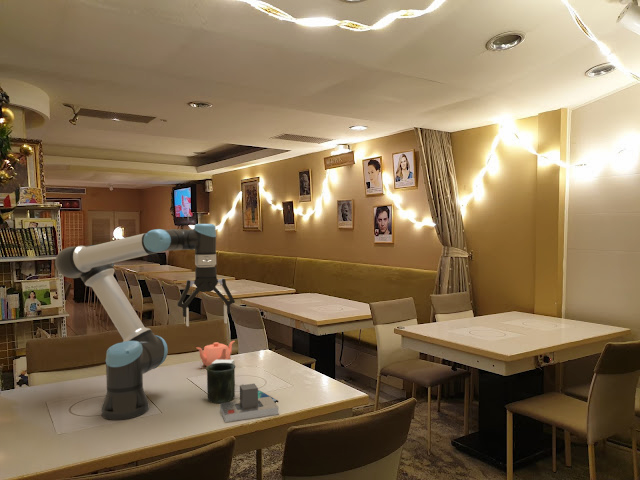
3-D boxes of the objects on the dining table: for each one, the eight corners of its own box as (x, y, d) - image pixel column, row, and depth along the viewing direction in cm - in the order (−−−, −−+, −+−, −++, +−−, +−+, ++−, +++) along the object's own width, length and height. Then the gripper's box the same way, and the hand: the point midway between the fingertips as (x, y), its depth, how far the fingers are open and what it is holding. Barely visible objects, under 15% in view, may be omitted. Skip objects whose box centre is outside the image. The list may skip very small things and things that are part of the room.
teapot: (235, 361, 225) (235, 339, 225) (227, 370, 211) (226, 346, 211) (206, 361, 226) (205, 338, 226) (195, 370, 212) (195, 346, 212)
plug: (243, 416, 158) (242, 390, 158) (240, 411, 163) (239, 385, 163) (258, 414, 160) (257, 388, 160) (254, 408, 165) (254, 383, 165)
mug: (210, 406, 168) (209, 372, 168) (201, 393, 181) (201, 362, 181) (239, 401, 173) (239, 368, 173) (229, 389, 186) (228, 359, 186)
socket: (225, 422, 154) (225, 413, 154) (220, 410, 164) (220, 402, 164) (278, 414, 160) (278, 405, 160) (270, 403, 170) (270, 395, 170)
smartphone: (262, 405, 167) (242, 393, 180) (262, 407, 167) (242, 395, 180) (279, 401, 172) (259, 389, 184) (279, 403, 172) (259, 391, 184)
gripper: (170, 268, 163) (171, 329, 163) (242, 265, 172) (242, 323, 172) (169, 266, 170) (170, 325, 170) (238, 264, 179) (238, 319, 179)
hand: (206, 324), depth 171 cm, fingers open, 13 cm apart
